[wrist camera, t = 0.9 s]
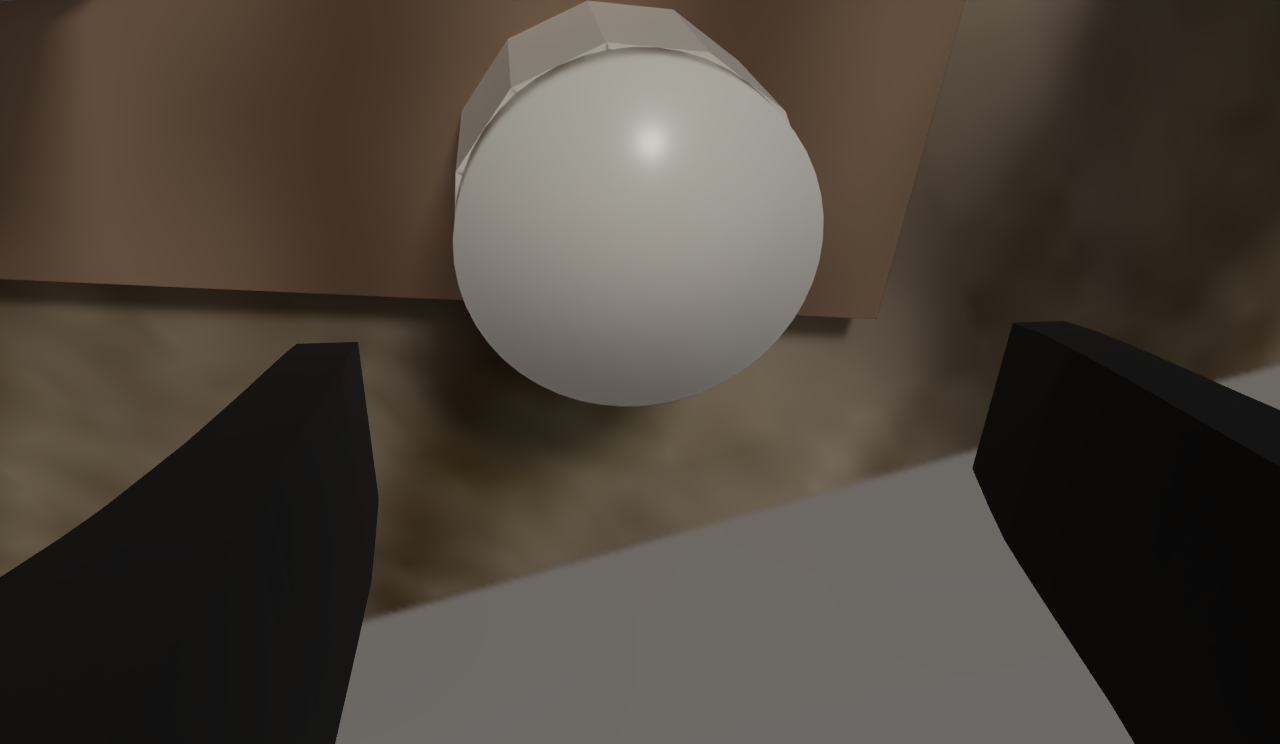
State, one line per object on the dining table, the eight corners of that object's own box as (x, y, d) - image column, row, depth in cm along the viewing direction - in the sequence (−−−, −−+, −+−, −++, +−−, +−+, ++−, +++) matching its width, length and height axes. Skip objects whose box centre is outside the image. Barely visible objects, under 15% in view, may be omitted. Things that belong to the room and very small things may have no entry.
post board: (1001, -232, 16) (1240, -245, 11) (860, 297, 21) (978, 458, 16) (-392, -453, 12) (-1003, -625, 7) (-156, 247, 17) (-423, 432, 12)
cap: (786, 21, 17) (861, 78, 13) (733, 303, 19) (784, 411, 16) (464, -13, 16) (457, 41, 12) (457, 291, 18) (449, 401, 15)
